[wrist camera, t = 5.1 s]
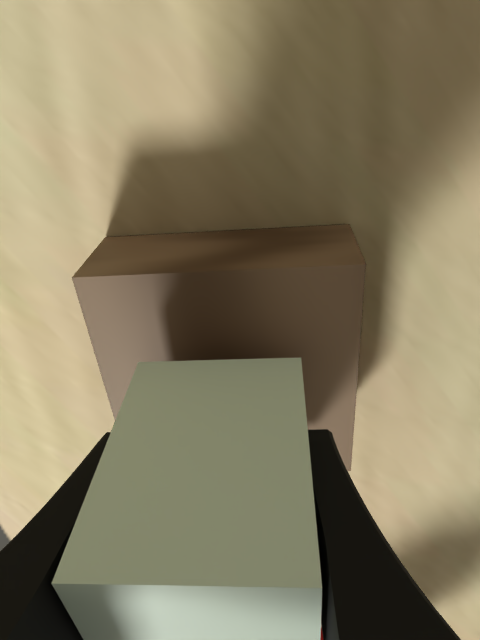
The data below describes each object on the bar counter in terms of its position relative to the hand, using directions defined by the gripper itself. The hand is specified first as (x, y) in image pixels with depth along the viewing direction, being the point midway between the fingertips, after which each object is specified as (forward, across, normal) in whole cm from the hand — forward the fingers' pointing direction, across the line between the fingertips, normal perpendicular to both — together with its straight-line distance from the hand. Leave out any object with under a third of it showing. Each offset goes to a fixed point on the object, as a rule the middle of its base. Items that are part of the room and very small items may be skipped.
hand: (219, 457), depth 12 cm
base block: (+6, 0, 0) cm, 6 cm away
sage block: (+2, 0, 0) cm, 2 cm away
